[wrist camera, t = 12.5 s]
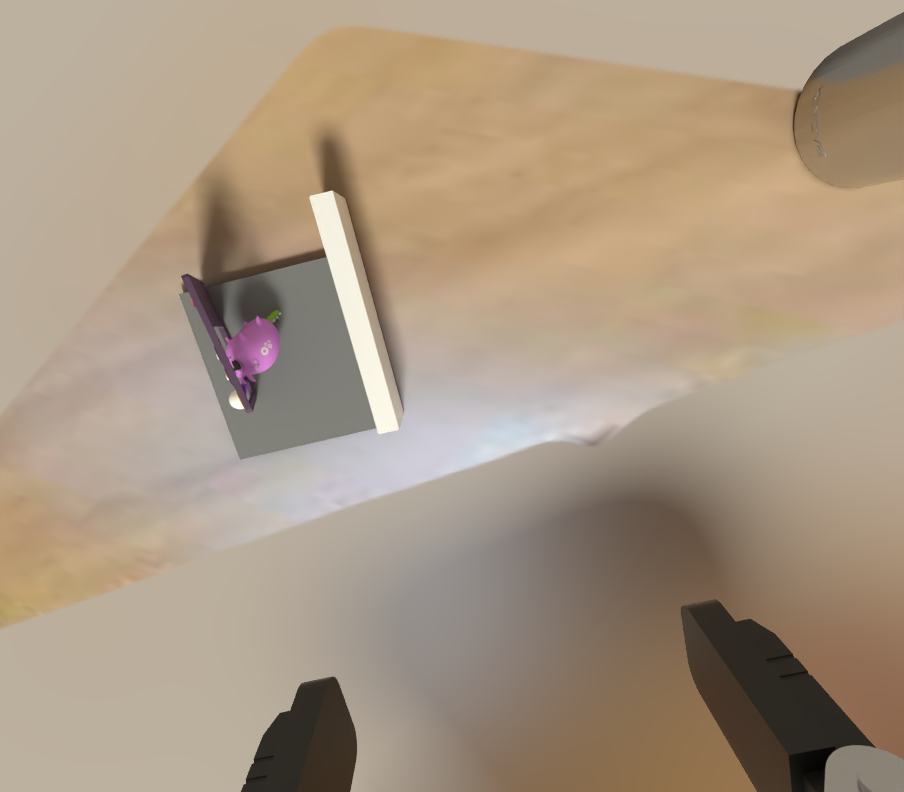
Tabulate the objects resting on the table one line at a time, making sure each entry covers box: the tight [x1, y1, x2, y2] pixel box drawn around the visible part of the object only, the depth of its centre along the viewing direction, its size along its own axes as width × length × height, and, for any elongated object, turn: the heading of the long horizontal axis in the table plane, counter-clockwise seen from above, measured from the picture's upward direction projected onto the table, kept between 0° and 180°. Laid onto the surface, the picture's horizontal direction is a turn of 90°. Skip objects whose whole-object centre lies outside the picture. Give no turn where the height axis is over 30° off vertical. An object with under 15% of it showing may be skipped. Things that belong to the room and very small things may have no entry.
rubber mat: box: [179, 257, 376, 459], centre depth 38 cm, size 11×13×1 cm
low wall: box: [309, 191, 404, 434], centre depth 35 cm, size 2×16×4 cm, turn 14°
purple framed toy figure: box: [181, 274, 281, 413], centre depth 34 cm, size 7×5×9 cm
